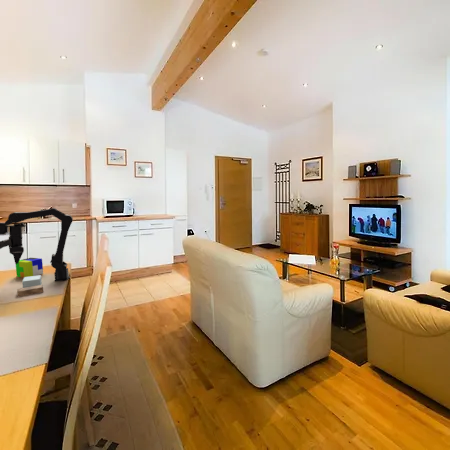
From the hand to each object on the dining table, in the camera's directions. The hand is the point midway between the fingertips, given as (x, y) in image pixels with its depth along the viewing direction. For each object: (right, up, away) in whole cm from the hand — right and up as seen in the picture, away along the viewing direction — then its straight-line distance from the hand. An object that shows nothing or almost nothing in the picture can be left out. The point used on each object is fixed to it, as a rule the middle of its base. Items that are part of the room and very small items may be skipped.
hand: (16, 262), depth 160 cm
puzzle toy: (-6, -11, +21) cm, 24 cm away
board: (+16, -15, -12) cm, 25 cm away
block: (+10, -14, -1) cm, 17 cm away
